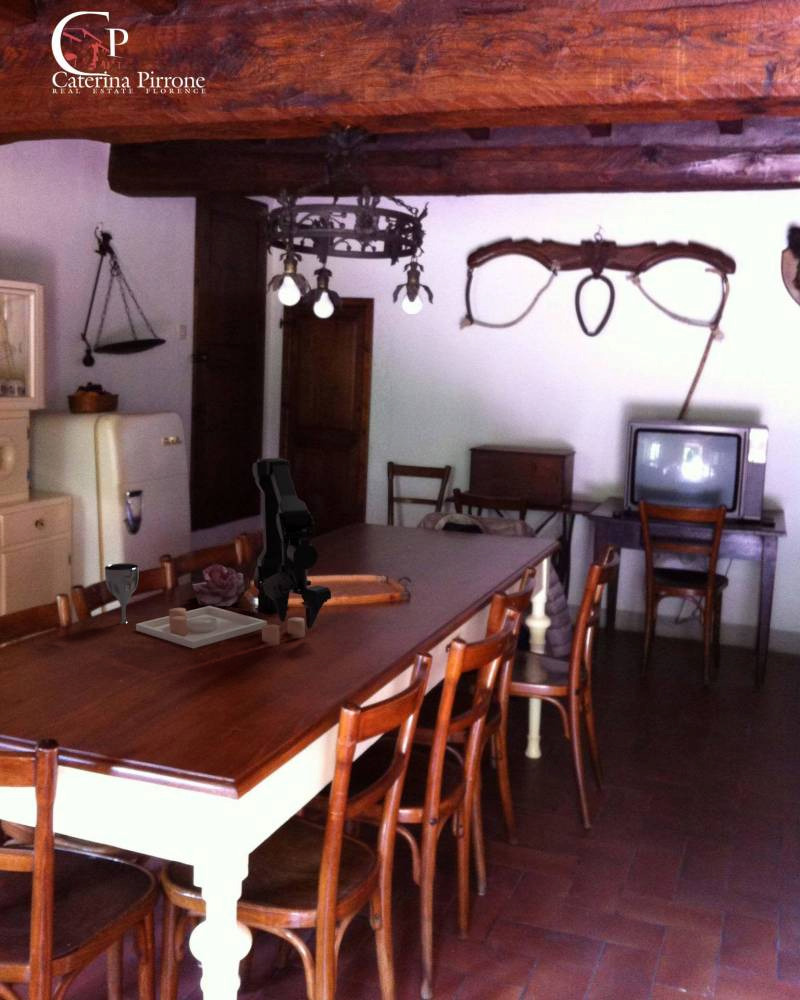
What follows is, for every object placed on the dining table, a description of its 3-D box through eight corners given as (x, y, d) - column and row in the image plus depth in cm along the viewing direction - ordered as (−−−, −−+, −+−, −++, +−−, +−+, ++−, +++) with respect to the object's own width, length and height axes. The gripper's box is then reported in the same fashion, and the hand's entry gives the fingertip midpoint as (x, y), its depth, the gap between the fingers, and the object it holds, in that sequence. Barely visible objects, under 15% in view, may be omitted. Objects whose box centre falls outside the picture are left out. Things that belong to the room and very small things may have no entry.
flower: (183, 589, 271) (189, 557, 267) (235, 590, 278) (242, 559, 274) (196, 618, 259) (203, 584, 255) (250, 618, 266) (258, 585, 262)
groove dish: (209, 615, 256) (209, 603, 256) (267, 631, 242) (267, 619, 242) (136, 634, 240) (135, 622, 240) (193, 652, 226) (192, 639, 225)
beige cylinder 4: (179, 622, 246) (179, 606, 245) (189, 625, 243) (189, 609, 243) (166, 626, 243) (165, 610, 242) (176, 629, 240) (175, 613, 240)
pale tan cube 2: (271, 640, 235) (271, 623, 235) (283, 643, 233) (282, 626, 232) (258, 643, 232) (258, 627, 232) (270, 647, 230) (269, 630, 229)
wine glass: (107, 632, 242) (104, 571, 240) (107, 623, 249) (104, 564, 247) (141, 629, 244) (138, 569, 242) (140, 620, 252) (138, 562, 249)
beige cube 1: (296, 632, 241) (296, 616, 241) (308, 635, 239) (307, 619, 238) (284, 636, 238) (283, 619, 238) (295, 639, 236) (295, 623, 235)
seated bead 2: (180, 631, 239) (180, 615, 238) (191, 634, 236) (190, 618, 235) (166, 635, 236) (166, 618, 235) (177, 638, 233) (176, 621, 232)
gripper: (242, 560, 236) (243, 624, 238) (296, 572, 224) (298, 639, 226) (277, 552, 244) (279, 615, 246) (332, 563, 232) (333, 629, 234)
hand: (295, 624), depth 238 cm, fingers open, 9 cm apart
